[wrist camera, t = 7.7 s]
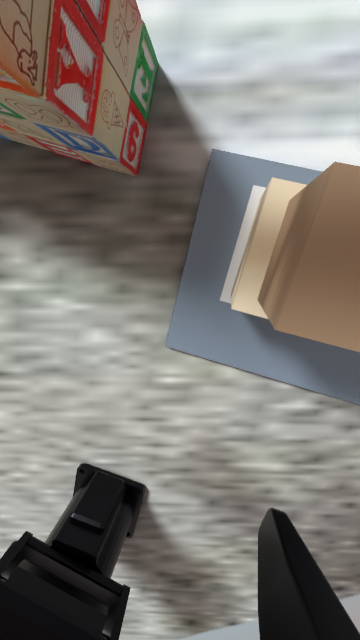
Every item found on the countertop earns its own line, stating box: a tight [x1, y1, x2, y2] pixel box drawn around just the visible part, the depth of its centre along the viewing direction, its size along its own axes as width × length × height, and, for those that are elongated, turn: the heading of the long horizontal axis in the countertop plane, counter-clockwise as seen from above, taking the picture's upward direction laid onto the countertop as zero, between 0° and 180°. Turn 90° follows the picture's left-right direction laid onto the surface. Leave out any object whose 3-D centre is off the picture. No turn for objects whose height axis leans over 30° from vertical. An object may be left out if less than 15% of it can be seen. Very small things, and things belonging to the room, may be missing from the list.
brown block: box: [257, 162, 360, 352], centre depth 9 cm, size 4×4×5 cm
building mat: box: [165, 149, 360, 405], centre depth 16 cm, size 13×15×1 cm
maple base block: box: [231, 177, 307, 319], centre depth 14 cm, size 6×6×4 cm
